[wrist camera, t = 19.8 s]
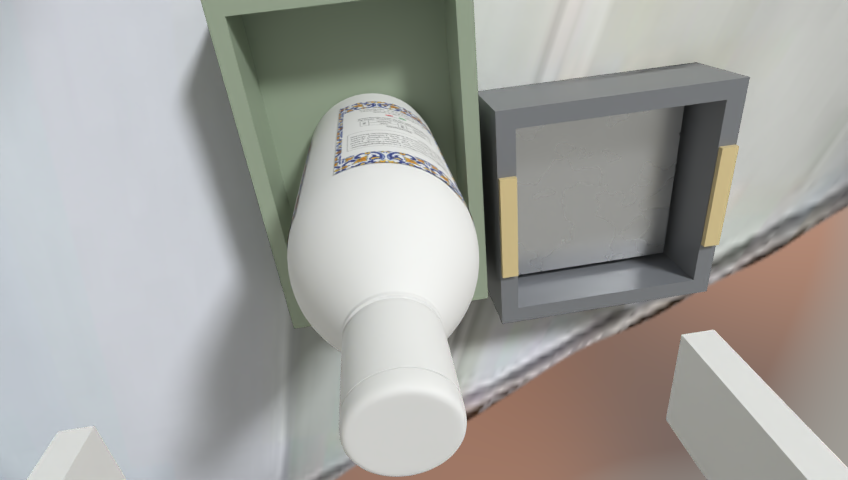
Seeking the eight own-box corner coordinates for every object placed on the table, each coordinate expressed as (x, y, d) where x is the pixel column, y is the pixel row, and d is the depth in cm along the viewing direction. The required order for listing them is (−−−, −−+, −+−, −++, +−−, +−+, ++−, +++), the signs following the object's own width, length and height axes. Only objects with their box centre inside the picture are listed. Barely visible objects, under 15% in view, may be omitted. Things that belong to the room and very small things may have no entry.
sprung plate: (677, 95, 29) (685, 98, 28) (656, 246, 34) (662, 252, 33) (506, 119, 29) (510, 122, 28) (510, 269, 33) (513, 275, 33)
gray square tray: (696, 62, 29) (753, 78, 25) (667, 255, 36) (709, 293, 31) (475, 91, 29) (496, 112, 24) (485, 283, 35) (503, 326, 31)
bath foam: (373, 230, 31) (400, 565, 14) (284, 153, 28) (173, 453, 11) (457, 152, 30) (612, 422, 12) (372, 62, 27) (411, 244, 9)
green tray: (455, -34, 26) (471, -34, 22) (474, 264, 34) (488, 298, 30) (221, -7, 25) (200, -2, 21) (300, 290, 33) (294, 328, 30)
